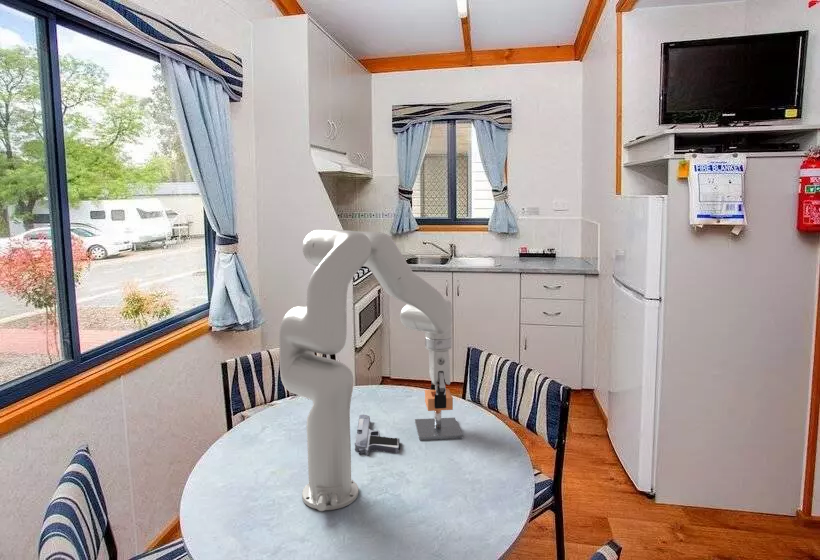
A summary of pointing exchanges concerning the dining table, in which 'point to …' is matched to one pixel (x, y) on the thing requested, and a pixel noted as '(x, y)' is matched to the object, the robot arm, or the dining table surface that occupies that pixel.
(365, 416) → the handgun
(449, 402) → the orange square ring block
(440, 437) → the plate
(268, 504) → the dining table surface
